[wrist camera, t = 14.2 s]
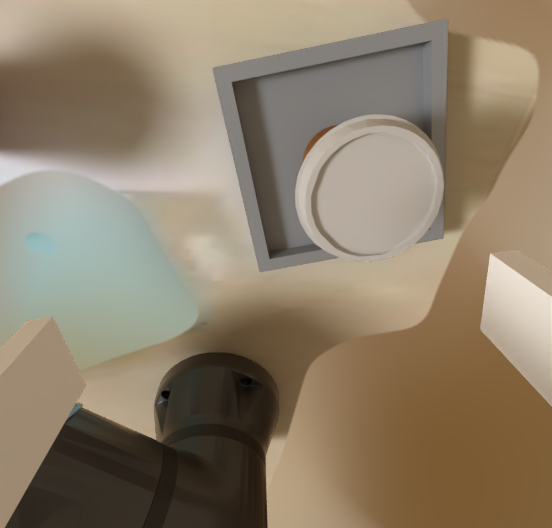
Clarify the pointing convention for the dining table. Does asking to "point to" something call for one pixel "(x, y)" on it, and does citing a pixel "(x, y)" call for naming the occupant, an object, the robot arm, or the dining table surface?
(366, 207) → the disposable coffee cup
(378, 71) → the tray
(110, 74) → the dining table surface
